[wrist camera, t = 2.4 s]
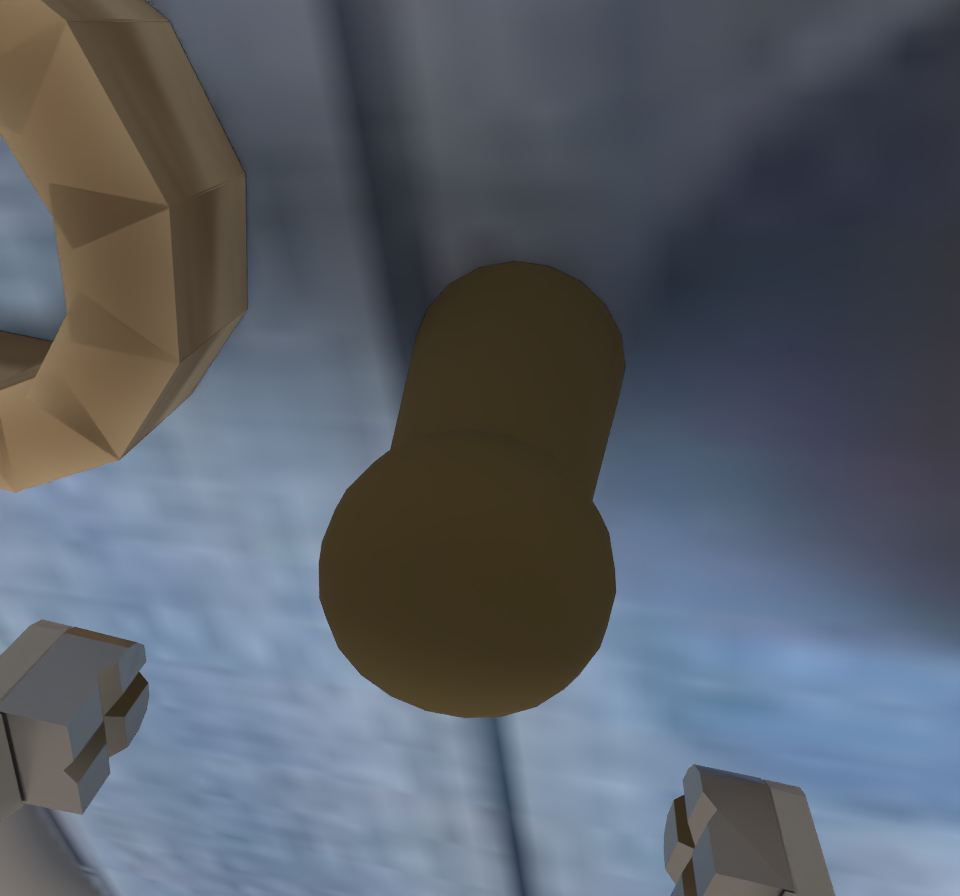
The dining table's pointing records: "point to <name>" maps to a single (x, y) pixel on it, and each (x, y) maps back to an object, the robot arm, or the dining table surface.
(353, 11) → the dining table surface
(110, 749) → the robot arm
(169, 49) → the tan faceted ring
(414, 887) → the dining table surface
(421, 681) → the dark brown rounded piece
